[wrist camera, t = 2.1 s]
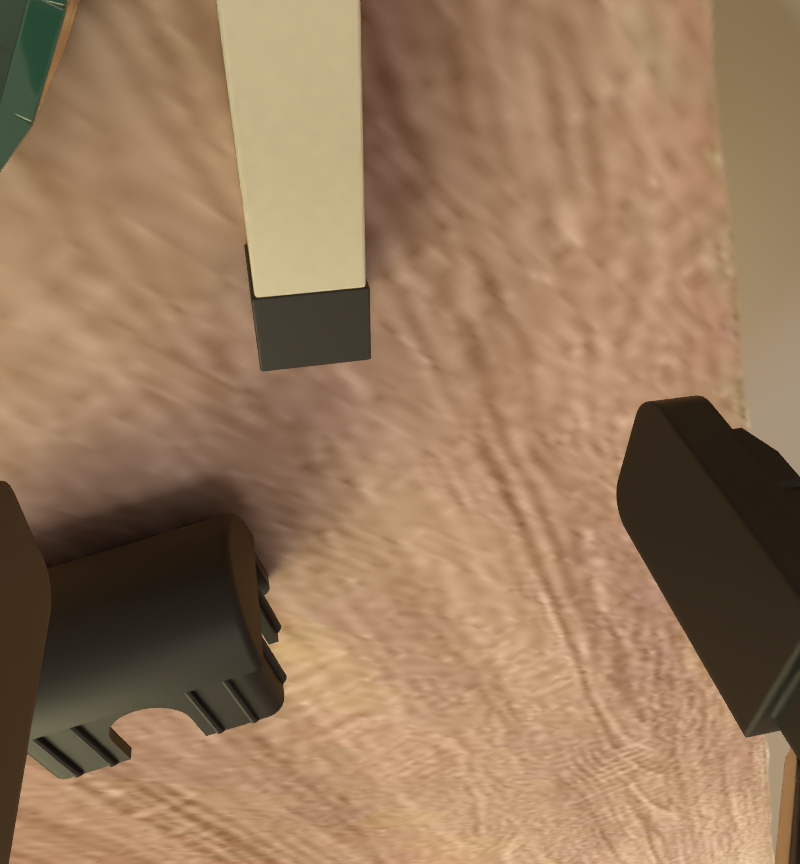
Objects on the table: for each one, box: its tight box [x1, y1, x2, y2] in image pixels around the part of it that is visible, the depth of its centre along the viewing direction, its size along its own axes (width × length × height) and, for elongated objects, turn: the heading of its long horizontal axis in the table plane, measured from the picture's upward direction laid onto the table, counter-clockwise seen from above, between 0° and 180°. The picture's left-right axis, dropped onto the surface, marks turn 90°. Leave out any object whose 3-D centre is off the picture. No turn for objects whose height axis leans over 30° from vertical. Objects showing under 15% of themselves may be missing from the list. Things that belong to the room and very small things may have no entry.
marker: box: [216, 0, 371, 371], centre depth 20 cm, size 10×3×3 cm, turn 179°
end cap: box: [27, 514, 287, 779], centre depth 28 cm, size 10×7×7 cm
